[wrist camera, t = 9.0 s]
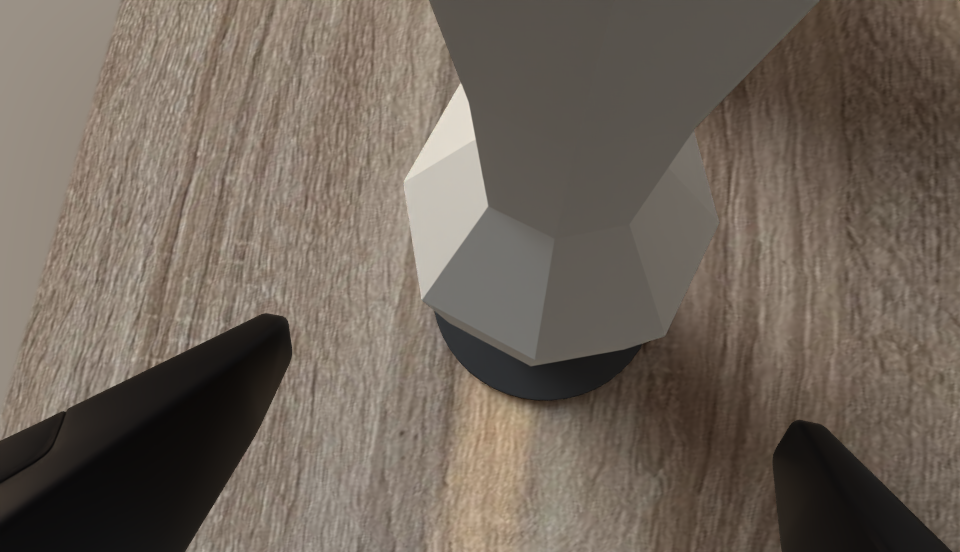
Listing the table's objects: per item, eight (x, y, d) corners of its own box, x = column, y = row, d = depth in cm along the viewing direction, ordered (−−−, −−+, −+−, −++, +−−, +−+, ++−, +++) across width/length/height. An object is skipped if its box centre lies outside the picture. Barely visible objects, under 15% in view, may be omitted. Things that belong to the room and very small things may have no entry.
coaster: (617, 432, 21) (619, 433, 21) (403, 356, 22) (400, 356, 22) (679, 220, 23) (682, 217, 22) (475, 159, 24) (474, 155, 23)
